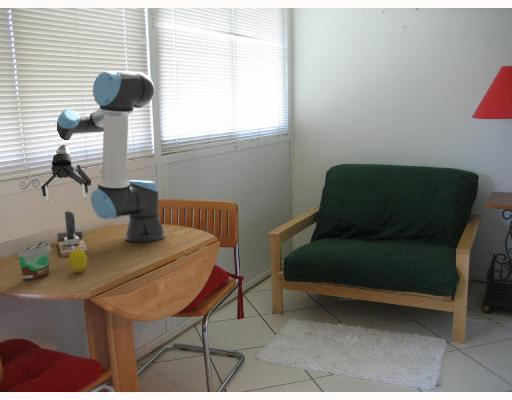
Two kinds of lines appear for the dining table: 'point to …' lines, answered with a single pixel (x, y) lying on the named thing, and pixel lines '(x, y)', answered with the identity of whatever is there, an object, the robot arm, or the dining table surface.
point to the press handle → (70, 229)
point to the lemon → (78, 260)
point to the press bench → (69, 248)
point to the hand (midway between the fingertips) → (66, 200)
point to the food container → (35, 261)
